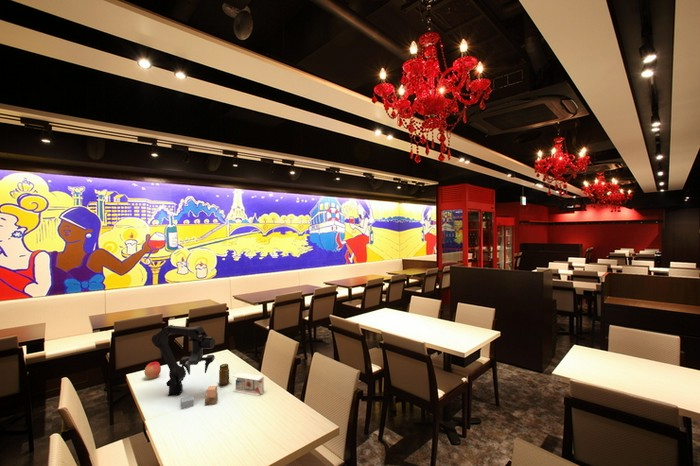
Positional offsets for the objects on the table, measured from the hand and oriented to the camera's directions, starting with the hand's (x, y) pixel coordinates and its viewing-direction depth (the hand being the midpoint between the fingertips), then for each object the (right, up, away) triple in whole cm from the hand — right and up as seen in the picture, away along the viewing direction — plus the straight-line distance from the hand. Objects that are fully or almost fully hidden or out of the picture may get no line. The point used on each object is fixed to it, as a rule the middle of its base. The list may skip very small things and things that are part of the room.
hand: (197, 373), depth 188 cm
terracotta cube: (+13, -9, -9) cm, 18 cm away
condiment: (+11, -13, +13) cm, 21 cm away
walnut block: (+13, -13, -9) cm, 20 cm away
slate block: (0, -13, -12) cm, 18 cm away
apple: (-42, -14, +24) cm, 50 cm away
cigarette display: (+31, -12, +3) cm, 33 cm away
